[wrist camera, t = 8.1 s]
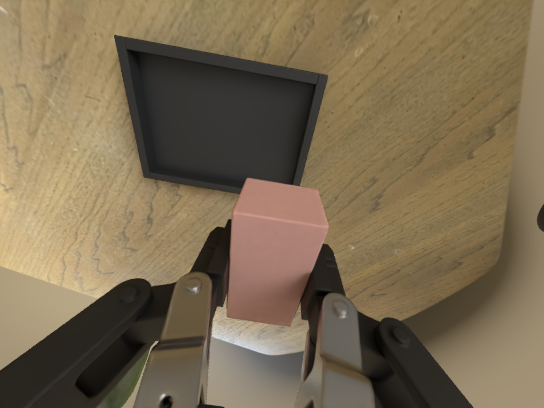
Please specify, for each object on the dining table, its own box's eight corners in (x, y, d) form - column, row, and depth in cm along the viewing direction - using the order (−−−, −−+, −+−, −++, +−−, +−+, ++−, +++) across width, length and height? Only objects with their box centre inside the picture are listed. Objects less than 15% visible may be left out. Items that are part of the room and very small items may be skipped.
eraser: (319, 189, 9) (331, 227, 7) (290, 280, 13) (291, 327, 11) (245, 176, 9) (230, 211, 7) (237, 272, 13) (225, 317, 10)
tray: (324, 76, 18) (328, 75, 16) (294, 195, 24) (295, 203, 23) (131, 39, 17) (113, 34, 16) (154, 170, 24) (143, 177, 22)
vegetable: (153, 288, 37) (38, 462, 20) (171, 284, 36) (66, 464, 19) (167, 301, 39) (74, 469, 22) (185, 298, 38) (101, 472, 21)
